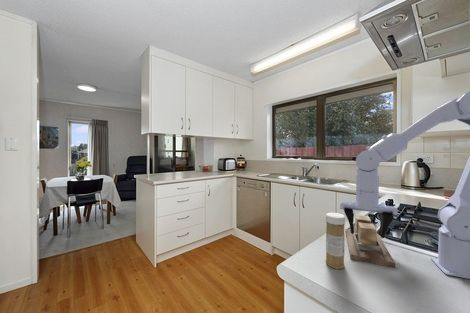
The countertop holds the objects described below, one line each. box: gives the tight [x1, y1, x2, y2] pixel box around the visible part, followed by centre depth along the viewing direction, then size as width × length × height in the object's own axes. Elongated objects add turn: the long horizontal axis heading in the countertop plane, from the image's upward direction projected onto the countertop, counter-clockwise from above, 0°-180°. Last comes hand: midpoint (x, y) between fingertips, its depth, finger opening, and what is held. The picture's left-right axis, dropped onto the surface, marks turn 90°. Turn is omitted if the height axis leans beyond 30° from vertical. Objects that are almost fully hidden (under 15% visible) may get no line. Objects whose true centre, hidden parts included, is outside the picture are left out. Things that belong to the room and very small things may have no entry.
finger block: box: [358, 222, 377, 246], centre depth 61 cm, size 4×6×6 cm
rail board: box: [344, 214, 396, 268], centre depth 63 cm, size 10×20×7 cm, turn 155°
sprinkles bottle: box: [325, 212, 346, 270], centre depth 53 cm, size 5×5×14 cm
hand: (366, 234), depth 61 cm, fingers open, 7 cm apart
